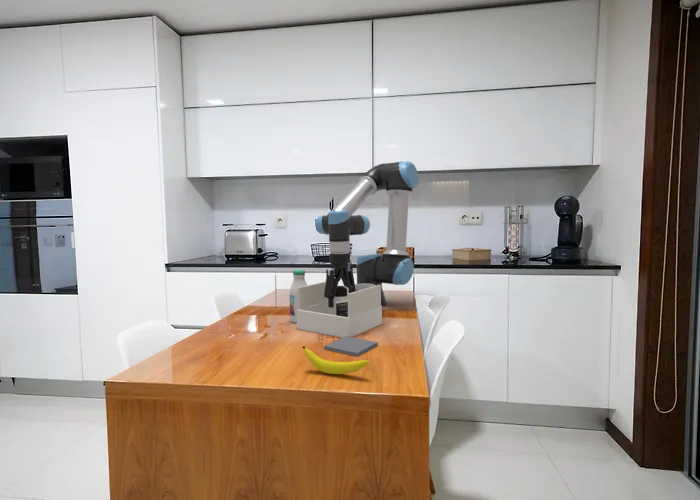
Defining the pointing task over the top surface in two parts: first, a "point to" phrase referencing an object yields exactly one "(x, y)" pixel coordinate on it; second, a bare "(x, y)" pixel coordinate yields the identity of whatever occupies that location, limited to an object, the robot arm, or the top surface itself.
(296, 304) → the milk bottle
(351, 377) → the top surface
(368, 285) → the plastic cup
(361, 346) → the mat
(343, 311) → the medicine bottle
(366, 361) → the banana
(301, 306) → the carton
